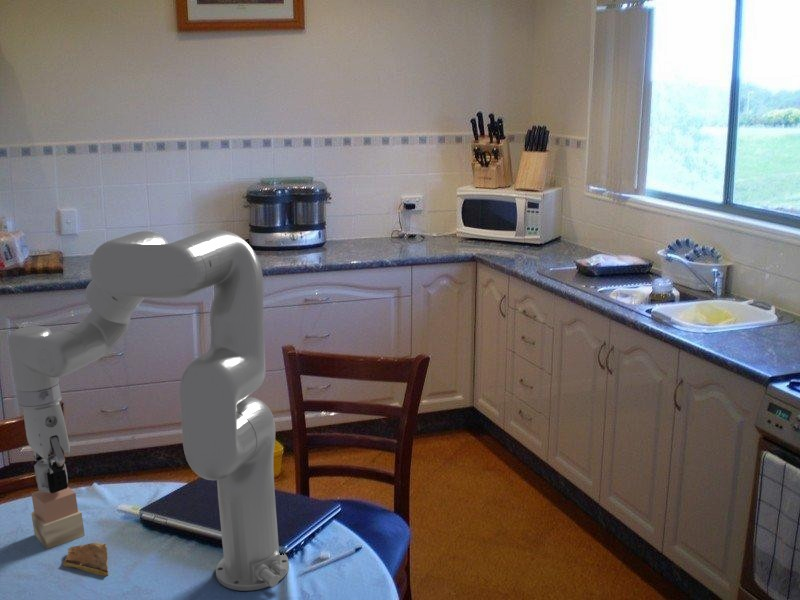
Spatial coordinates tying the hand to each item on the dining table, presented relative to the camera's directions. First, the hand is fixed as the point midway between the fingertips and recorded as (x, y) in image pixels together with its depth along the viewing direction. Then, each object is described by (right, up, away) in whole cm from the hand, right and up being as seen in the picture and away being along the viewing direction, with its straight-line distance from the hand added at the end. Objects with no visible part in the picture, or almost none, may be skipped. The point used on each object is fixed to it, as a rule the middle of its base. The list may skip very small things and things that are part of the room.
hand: (52, 483), depth 164 cm
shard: (+10, -13, -6) cm, 18 cm away
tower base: (0, -11, +3) cm, 11 cm away
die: (0, -1, 0) cm, 1 cm away
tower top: (0, -6, +2) cm, 6 cm away
